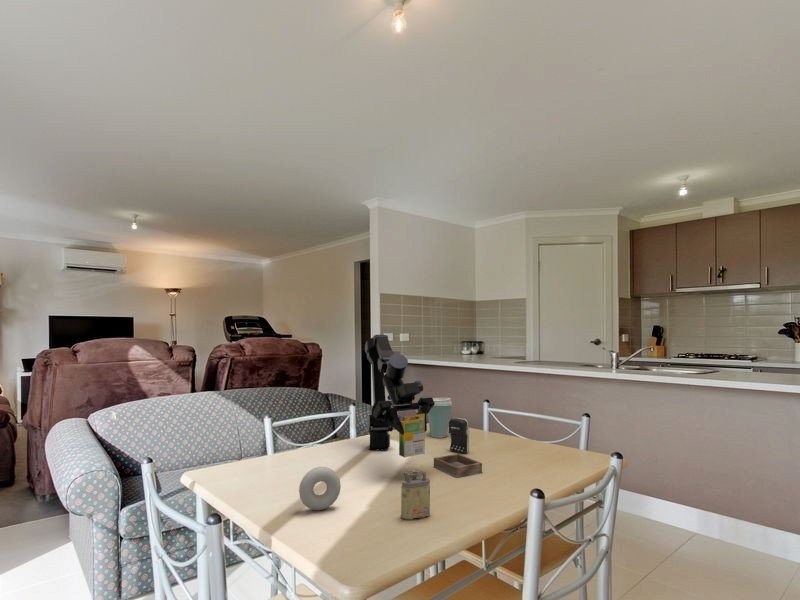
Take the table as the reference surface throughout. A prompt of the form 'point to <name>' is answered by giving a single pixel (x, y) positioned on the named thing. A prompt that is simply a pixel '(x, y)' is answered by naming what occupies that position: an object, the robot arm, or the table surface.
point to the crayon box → (412, 436)
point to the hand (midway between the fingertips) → (414, 432)
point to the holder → (457, 465)
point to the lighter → (415, 495)
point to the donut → (310, 481)
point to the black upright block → (459, 435)
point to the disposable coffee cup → (439, 417)
